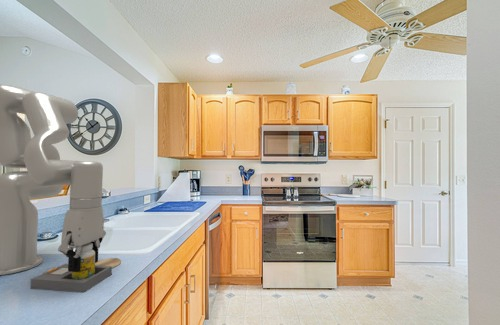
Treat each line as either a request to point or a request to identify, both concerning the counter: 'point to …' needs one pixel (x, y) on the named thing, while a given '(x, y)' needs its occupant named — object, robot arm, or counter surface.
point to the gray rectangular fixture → (68, 279)
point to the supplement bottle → (86, 263)
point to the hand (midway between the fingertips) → (83, 265)
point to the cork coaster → (109, 262)
